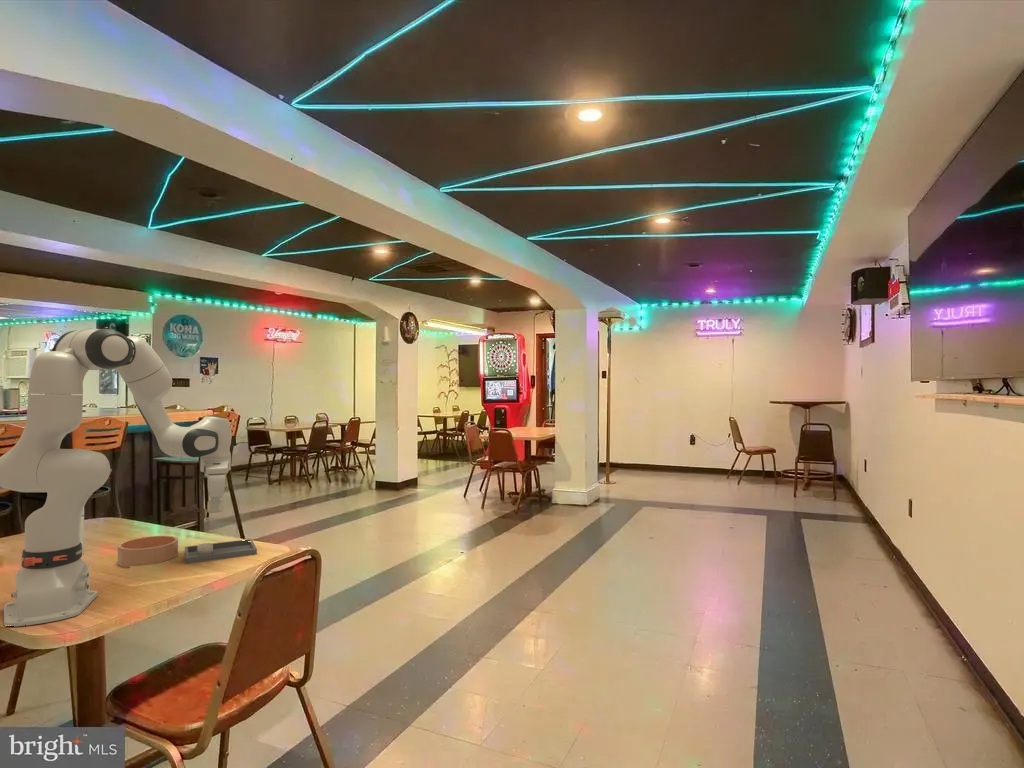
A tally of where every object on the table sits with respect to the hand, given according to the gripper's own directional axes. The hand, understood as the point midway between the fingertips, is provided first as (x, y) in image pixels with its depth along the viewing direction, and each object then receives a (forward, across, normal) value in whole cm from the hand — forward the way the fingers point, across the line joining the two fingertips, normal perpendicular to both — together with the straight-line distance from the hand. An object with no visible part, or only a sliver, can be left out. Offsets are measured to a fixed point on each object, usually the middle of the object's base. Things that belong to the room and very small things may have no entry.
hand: (214, 508), depth 189 cm
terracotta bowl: (+15, -5, -18) cm, 24 cm away
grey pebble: (+15, +1, -3) cm, 15 cm away
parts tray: (+15, +1, +2) cm, 16 cm away
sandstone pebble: (+1, 0, 0) cm, 1 cm away
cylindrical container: (+16, -22, -40) cm, 49 cm away
